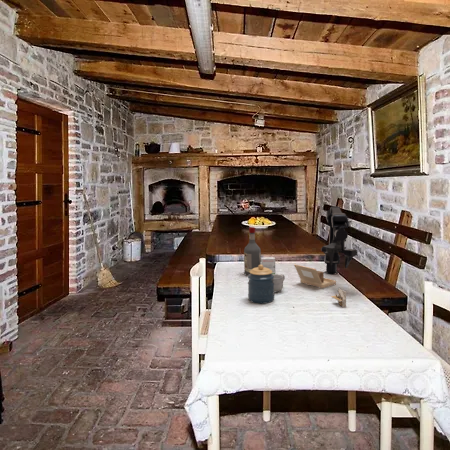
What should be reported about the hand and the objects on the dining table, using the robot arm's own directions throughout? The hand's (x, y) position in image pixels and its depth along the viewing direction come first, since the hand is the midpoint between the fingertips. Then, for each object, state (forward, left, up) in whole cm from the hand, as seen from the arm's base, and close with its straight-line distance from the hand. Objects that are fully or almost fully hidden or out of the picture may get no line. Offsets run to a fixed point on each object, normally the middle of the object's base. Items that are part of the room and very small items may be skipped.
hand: (338, 266), depth 182 cm
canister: (+43, -14, -12) cm, 47 cm away
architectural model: (+21, +16, -13) cm, 29 cm away
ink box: (+11, -42, -12) cm, 45 cm away
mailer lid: (+9, -13, -5) cm, 17 cm away
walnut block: (0, -13, -12) cm, 17 cm away
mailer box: (0, -13, -12) cm, 18 cm away
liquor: (+15, -52, -12) cm, 56 cm away
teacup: (+27, -20, -12) cm, 36 cm away
